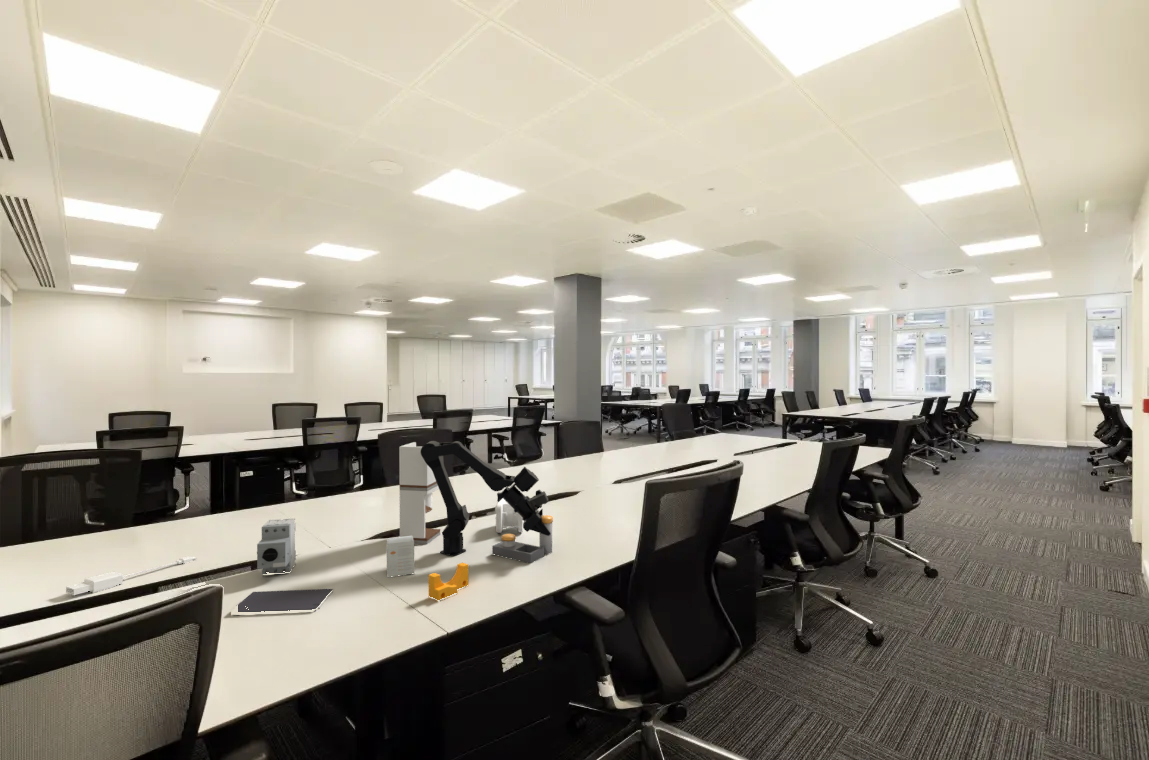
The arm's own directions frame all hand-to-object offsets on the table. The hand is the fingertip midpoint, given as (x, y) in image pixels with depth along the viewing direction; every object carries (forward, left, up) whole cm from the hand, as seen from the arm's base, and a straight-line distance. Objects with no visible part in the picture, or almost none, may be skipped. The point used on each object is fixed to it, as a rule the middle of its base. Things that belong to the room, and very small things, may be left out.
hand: (549, 532), depth 183 cm
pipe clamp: (-42, +6, -7) cm, 43 cm away
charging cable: (-83, +95, -7) cm, 126 cm away
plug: (-1, +1, -7) cm, 7 cm away
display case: (-13, +49, -7) cm, 51 cm away
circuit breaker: (-60, +61, -7) cm, 86 cm away
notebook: (-71, +39, -7) cm, 81 cm away
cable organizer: (+13, +27, -7) cm, 31 cm away
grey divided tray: (-9, +7, -7) cm, 13 cm away
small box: (-40, +29, -7) cm, 50 cm away
